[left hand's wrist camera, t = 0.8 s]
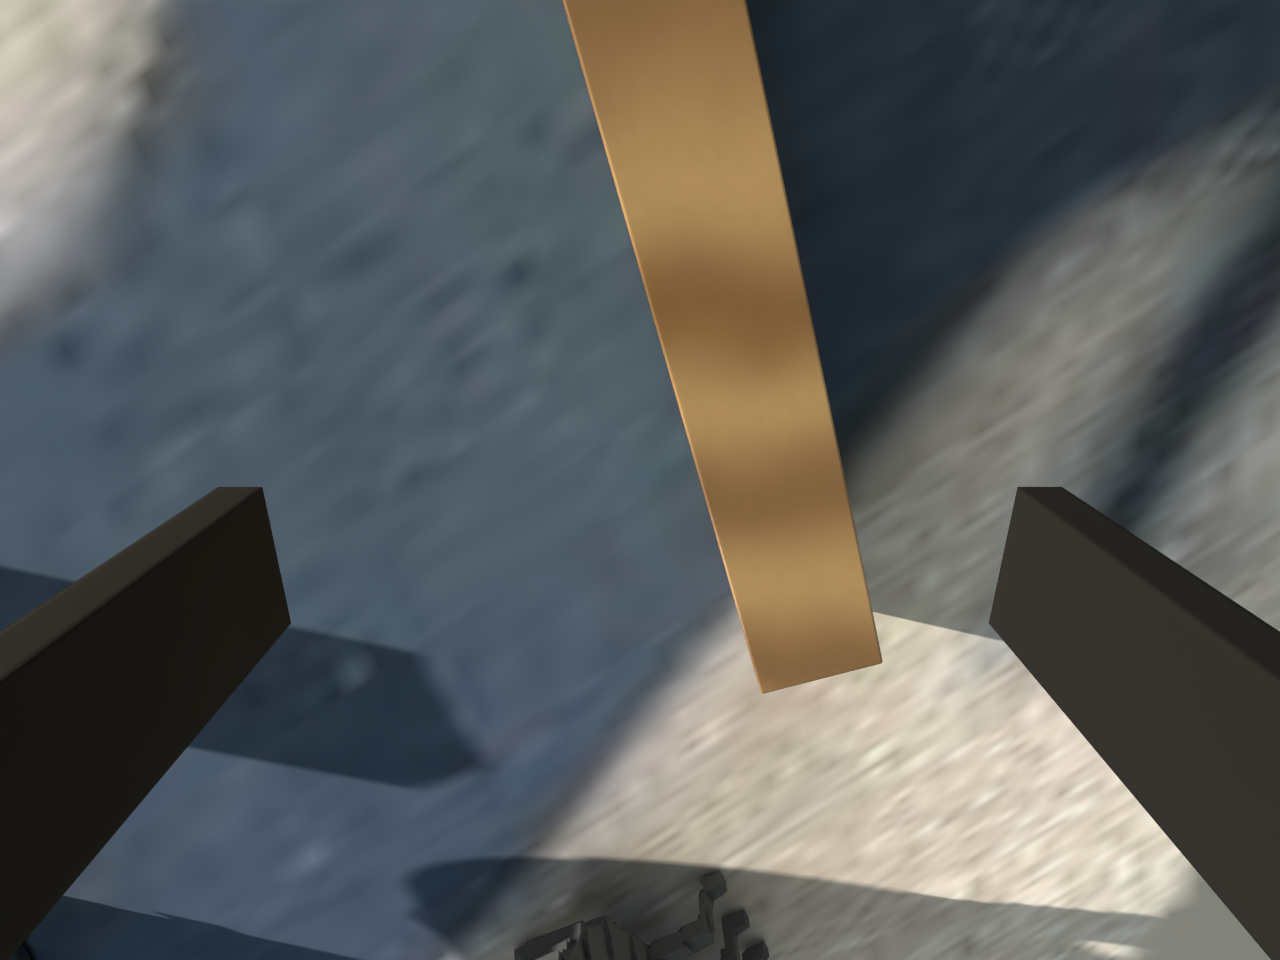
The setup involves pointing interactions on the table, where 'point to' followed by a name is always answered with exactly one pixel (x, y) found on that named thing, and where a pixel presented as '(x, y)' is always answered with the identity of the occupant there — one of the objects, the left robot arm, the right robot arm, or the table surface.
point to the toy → (612, 956)
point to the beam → (732, 319)
